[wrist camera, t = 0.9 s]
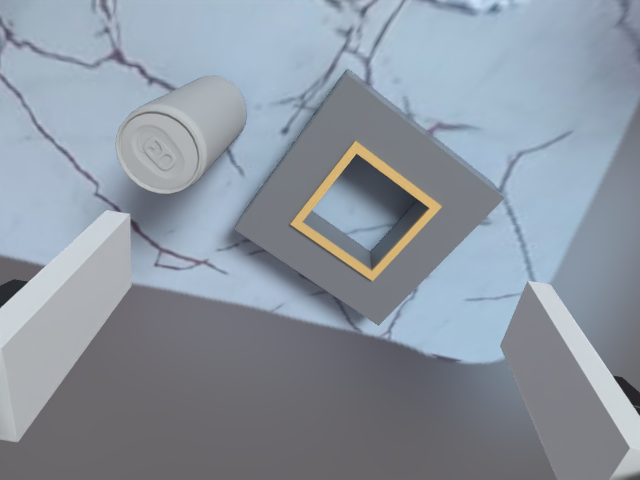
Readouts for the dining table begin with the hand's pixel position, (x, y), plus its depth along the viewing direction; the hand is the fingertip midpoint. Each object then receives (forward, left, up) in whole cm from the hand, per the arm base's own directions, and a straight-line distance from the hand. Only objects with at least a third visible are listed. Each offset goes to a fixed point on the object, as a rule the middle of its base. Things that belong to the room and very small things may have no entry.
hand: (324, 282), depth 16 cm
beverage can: (-8, -5, -23) cm, 24 cm away
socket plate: (+5, -4, -22) cm, 23 cm away
